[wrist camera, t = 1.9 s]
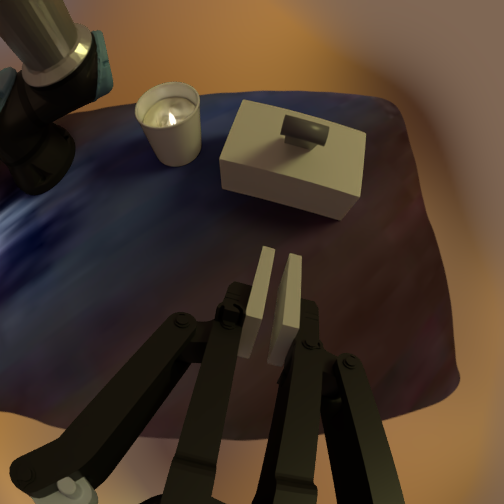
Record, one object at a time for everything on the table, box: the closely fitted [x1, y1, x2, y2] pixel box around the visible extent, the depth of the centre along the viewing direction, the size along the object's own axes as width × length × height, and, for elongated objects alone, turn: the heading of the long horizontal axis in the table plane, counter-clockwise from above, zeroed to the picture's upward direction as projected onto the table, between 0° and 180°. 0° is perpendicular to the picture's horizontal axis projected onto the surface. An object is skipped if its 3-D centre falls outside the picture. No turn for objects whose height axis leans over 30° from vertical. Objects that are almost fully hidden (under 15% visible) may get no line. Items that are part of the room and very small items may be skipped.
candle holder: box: [135, 82, 201, 167], centre depth 45 cm, size 10×10×12 cm
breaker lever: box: [280, 114, 329, 150], centre depth 36 cm, size 5×2×11 cm, turn 75°
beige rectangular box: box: [219, 100, 366, 221], centre depth 46 cm, size 20×12×9 cm, turn 75°
